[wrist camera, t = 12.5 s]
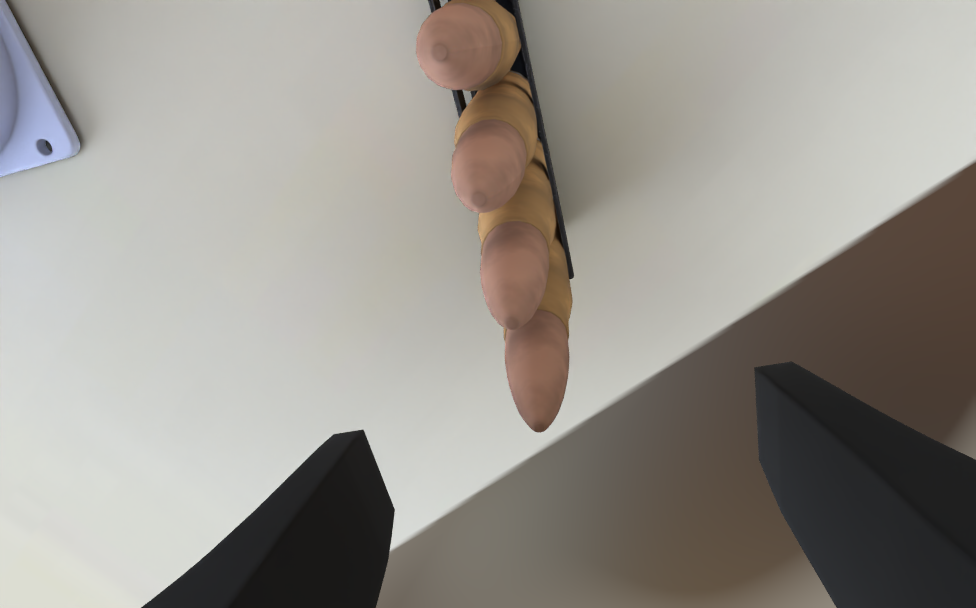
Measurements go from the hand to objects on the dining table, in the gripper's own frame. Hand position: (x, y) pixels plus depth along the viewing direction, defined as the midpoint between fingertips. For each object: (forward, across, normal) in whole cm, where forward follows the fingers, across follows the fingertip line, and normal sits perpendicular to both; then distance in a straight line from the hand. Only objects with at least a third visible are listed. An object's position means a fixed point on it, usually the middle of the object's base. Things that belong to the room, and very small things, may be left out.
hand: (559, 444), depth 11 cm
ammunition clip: (+11, 0, -6) cm, 12 cm away
